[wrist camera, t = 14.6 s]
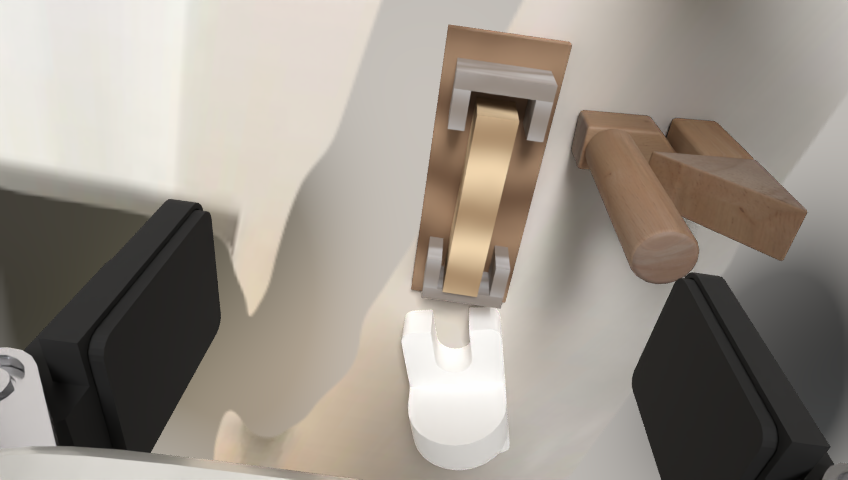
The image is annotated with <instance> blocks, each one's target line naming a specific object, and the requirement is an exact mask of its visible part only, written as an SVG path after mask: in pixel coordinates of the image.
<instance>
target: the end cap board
mask: <svg viewBox="0 0 848 480" xmlns="http://www.w3.org/2000/svg"><path fill="white" fill-rule="evenodd" d="M571 47H572V45H571V43H570V42H566V41H559V40H552V39H545V38H539V37H532V36H525V35H518V34H511V33H504V32H497V31H490V30H483V29H476V28H469V27H462V26H455V25H448V31H447V39H446V46H445V53H444V61H443V67H442V74H441V82H440V89H439V95H438V103H437V111H436V117H435V124H434V131H433V138H432V145H431V152H430V160H429V167H428V174H427V181H426V188H425V195H424V202H423V209H422V216H421V223H420V230H419V238H418V245H417V252H416V259H415V266H414V273H413V280H412V287H411V289H412V290H419V291H422V298H428V299H435V300H442V301H449V302H457V303H464V304H471V305H478V306H485V307H492V308H500V309H501V305H502V302H505V301H506V297H507V293H508V289H509V285H510V282H511V278H512V274H513V270H514V266H515V262H516V258H517V255H518V251H519V247H520V243H521V239H522V235H523V232H524V228H525V224H526V220H527V216H528V212H529V209H530V205H531V201H532V197H533V193H534V189H535V186H536V182H537V178H538V174H539V170H540V166H541V162H542V159H543V155H544V151H545V147H546V143H547V139H548V136H549V132H550V128H551V124H552V120H553V116H554V113H555V109H556V105H557V101H558V97H559V93H560V89H561V86H562V82H563V78H564V74H565V70H566V66H567V63H568V59H569V55H570V51H571ZM477 96H478V97H484V98H490V99H497V100H503V101H510V102H515V103H516V107H517V112H518V117H519V125H518V129H517V133H516V138H515V142H514V146H513V150H512V154H511V158H510V162H509V167H508V171H507V175H506V179H505V183H504V187H503V191H502V196H501V200H500V204H499V208H498V212H497V216H496V221H495V225H494V229H493V233H492V237H491V241H490V245H489V250H488V254H487V258H486V262H485V266H484V270H483V274H482V279H481V283H480V287H479V291H478V295H477V297H473V296H466V295H459V294H453V293H446V292H443V276H444V263H445V258H446V253H447V248H448V243H449V238H450V232H451V227H452V222H453V217H454V212H455V206H456V201H457V196H458V191H459V186H460V180H461V175H462V170H463V165H464V160H465V154H466V149H467V144H468V139H469V134H470V129H471V123H472V118H473V113H474V108H475V103H476V97H477Z"/></svg>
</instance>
